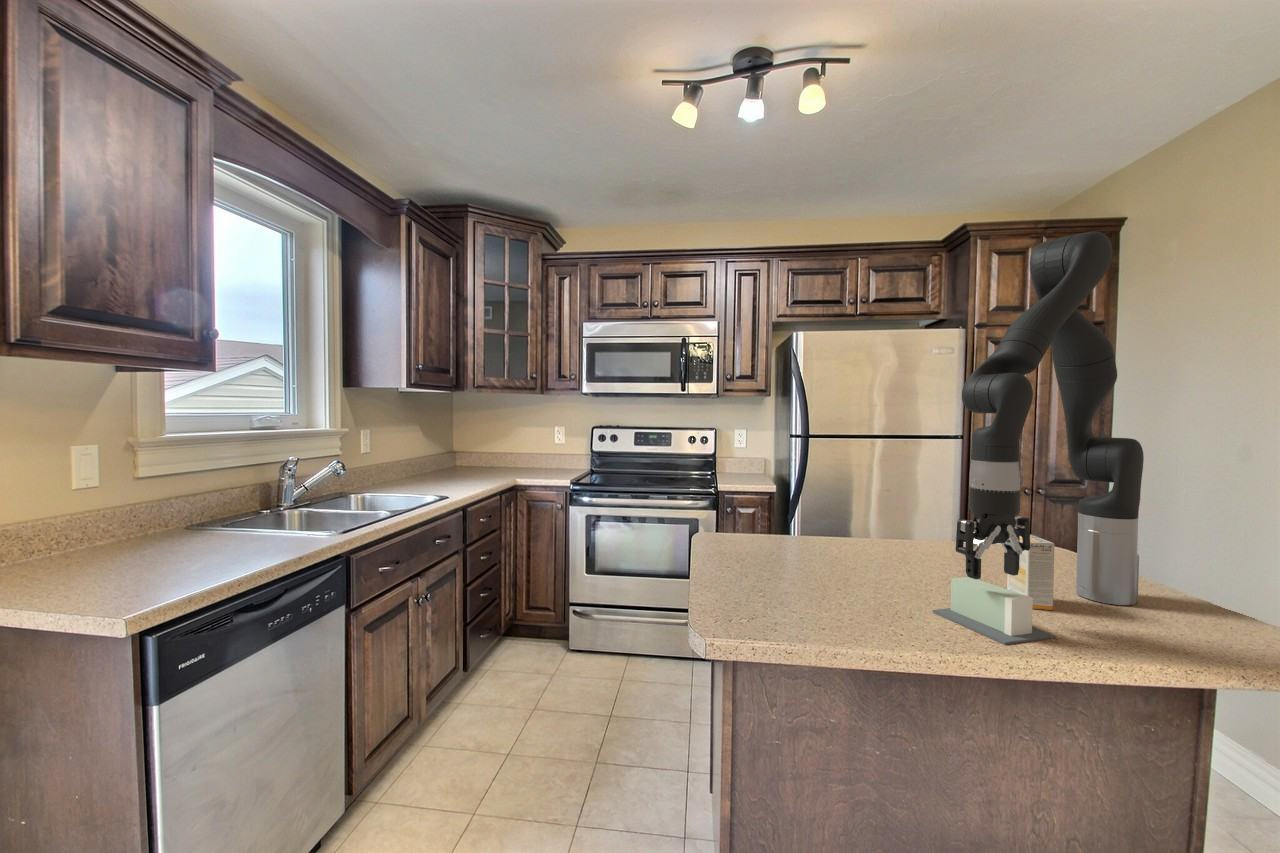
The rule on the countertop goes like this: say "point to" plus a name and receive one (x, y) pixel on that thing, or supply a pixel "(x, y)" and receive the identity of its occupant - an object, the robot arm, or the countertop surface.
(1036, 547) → the supplement box
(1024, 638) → the mat
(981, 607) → the sage block
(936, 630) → the countertop surface
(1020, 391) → the robot arm
